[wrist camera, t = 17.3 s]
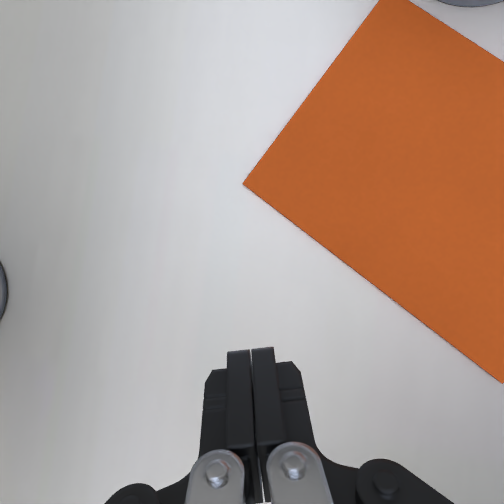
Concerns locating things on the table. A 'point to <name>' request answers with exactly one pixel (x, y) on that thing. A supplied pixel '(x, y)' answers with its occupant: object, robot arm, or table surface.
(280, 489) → the robot arm
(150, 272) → the table surface
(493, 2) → the crock
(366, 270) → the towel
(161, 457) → the table surface
